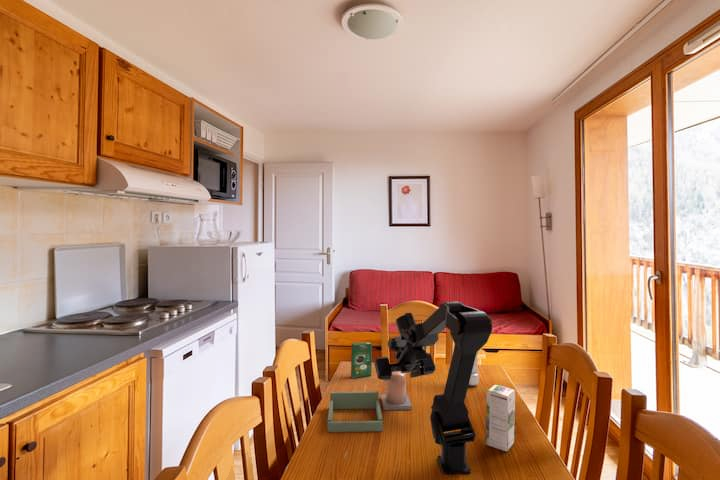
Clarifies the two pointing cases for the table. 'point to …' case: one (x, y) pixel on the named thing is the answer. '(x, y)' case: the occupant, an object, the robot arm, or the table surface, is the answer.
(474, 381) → the plastic bottle
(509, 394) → the syrup box
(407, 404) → the slate tile
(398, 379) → the pink tall rounded piece
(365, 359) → the coffee box
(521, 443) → the table surface
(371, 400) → the frame
